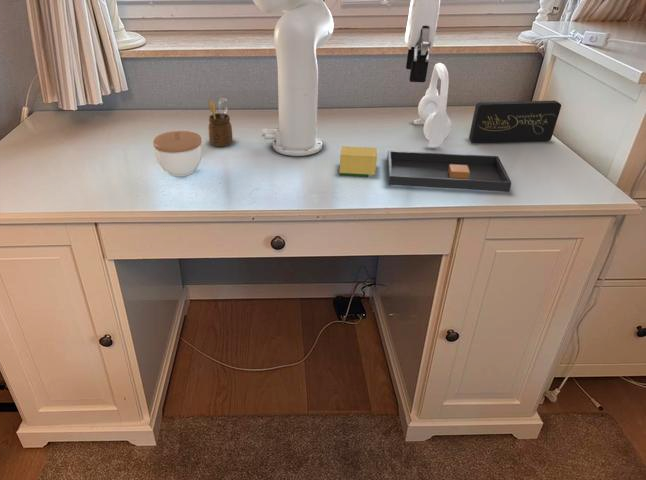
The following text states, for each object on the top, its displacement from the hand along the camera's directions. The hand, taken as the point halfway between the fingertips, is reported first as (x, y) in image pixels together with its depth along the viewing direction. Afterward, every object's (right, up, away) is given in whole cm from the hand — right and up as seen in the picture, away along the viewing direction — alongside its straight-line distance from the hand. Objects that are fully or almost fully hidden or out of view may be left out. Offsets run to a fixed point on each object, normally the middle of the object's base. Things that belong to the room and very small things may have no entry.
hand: (415, 75), depth 109 cm
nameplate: (+31, -8, +24) cm, 40 cm away
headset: (+11, -6, +27) cm, 30 cm away
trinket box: (-52, -19, +11) cm, 56 cm away
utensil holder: (-44, -9, +24) cm, 51 cm away
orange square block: (+11, -20, +6) cm, 24 cm away
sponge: (-11, -19, +10) cm, 24 cm away
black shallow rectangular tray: (+8, -20, +7) cm, 23 cm away
